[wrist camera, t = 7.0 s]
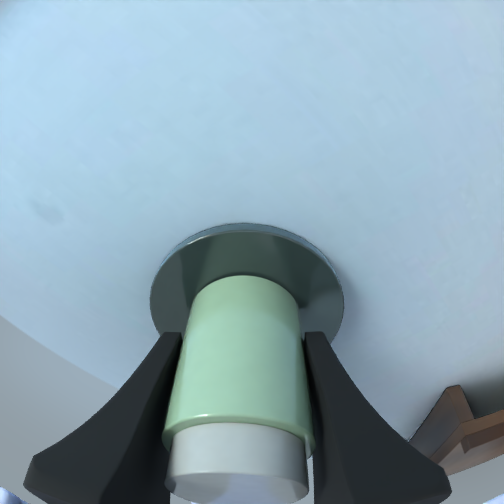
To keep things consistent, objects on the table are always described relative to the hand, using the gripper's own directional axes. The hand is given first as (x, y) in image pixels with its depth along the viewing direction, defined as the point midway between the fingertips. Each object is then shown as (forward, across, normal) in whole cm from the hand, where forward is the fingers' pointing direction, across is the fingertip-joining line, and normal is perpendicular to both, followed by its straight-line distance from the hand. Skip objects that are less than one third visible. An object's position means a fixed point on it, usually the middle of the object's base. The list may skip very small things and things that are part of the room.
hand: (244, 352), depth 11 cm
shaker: (+2, 0, 0) cm, 2 cm away
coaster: (+2, 0, 0) cm, 2 cm away
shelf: (+2, -19, +12) cm, 23 cm away
